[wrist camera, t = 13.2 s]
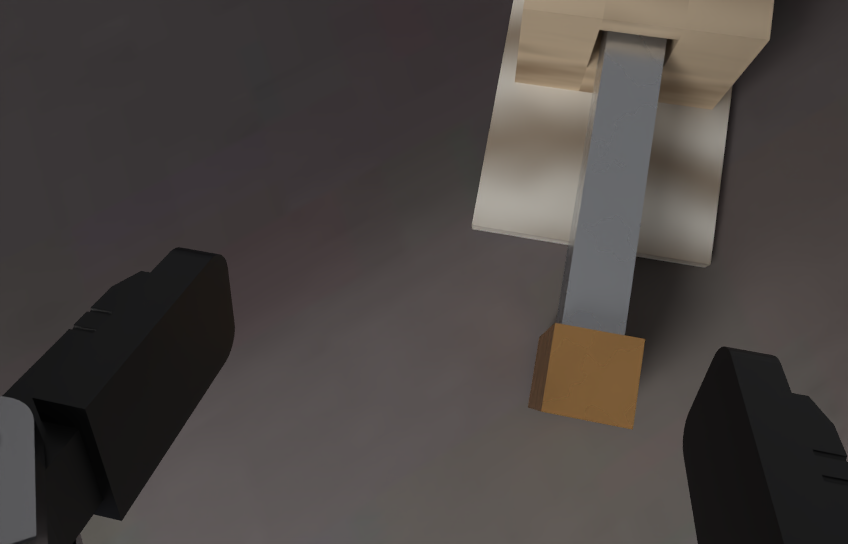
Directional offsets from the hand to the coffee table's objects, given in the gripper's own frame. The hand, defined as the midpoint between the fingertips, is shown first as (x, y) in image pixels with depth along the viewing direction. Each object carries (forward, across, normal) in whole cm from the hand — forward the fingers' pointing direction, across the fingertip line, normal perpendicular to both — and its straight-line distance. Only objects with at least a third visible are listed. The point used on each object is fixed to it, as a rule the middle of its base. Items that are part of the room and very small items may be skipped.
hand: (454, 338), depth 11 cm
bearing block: (+36, -5, +5) cm, 36 cm away
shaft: (+27, -5, +12) cm, 30 cm away
